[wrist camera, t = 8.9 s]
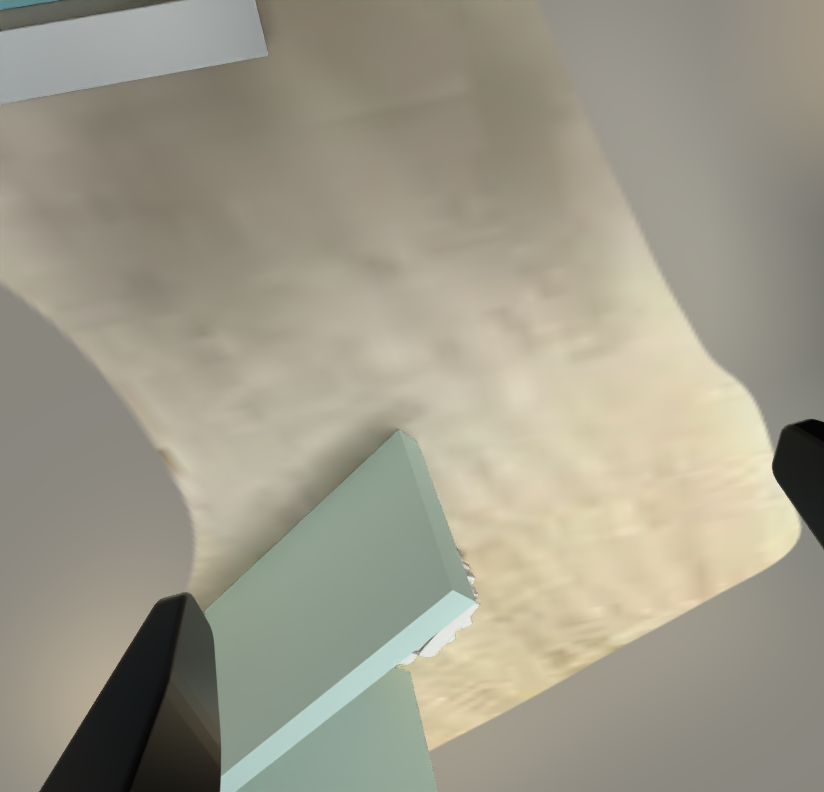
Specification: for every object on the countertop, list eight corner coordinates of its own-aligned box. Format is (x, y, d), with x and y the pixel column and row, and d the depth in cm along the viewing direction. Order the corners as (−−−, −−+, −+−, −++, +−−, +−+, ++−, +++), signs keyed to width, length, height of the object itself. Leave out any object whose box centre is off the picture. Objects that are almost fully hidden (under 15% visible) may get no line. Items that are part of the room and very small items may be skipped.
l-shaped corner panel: (398, 680, 32) (432, 841, 26) (204, 609, 26) (192, 799, 20) (570, 546, 29) (655, 695, 23) (398, 428, 23) (452, 589, 17)
